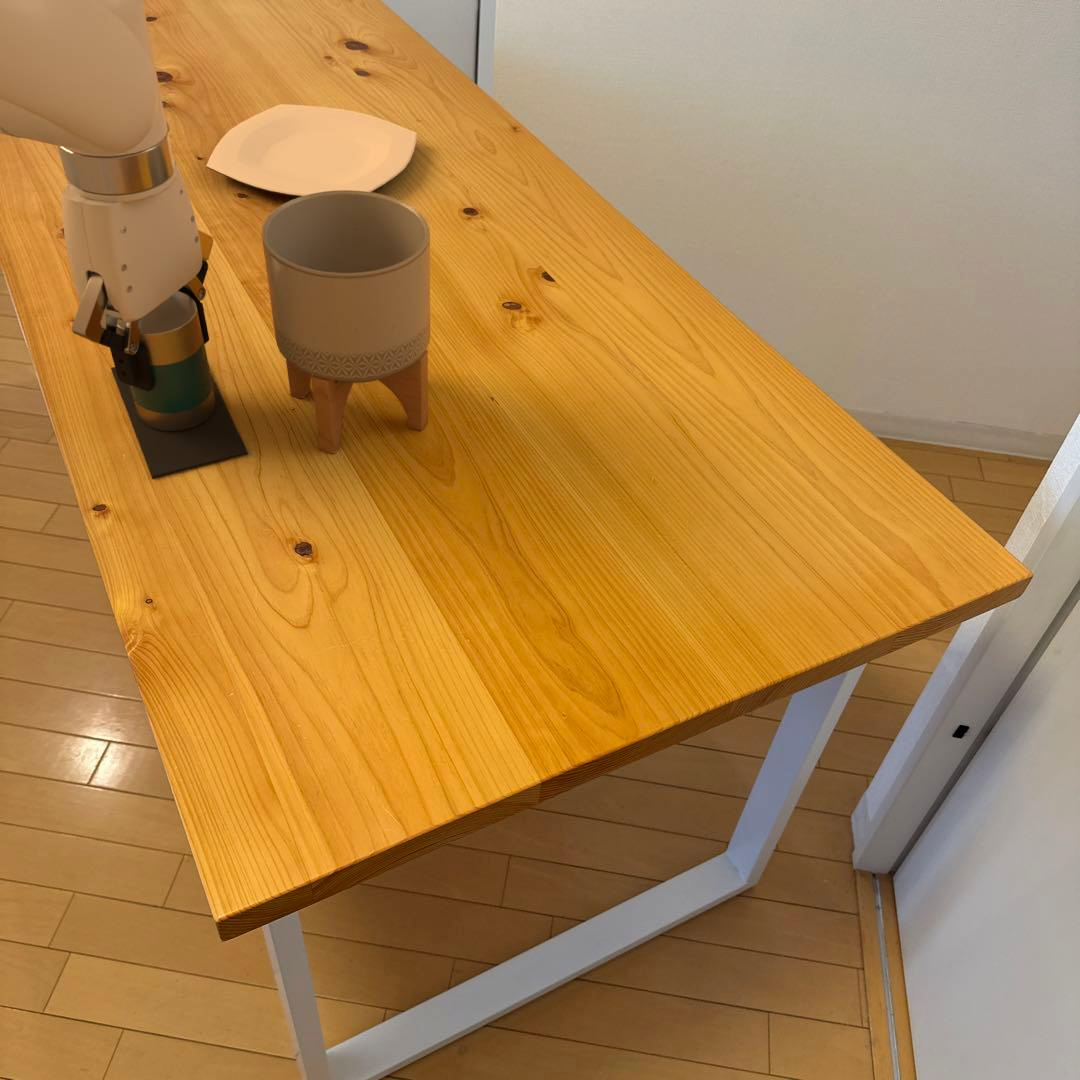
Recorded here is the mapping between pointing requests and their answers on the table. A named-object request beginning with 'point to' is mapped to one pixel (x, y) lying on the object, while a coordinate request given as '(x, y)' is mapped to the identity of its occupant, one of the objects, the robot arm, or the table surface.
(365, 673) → the table surface
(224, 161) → the plate
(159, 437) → the black flat rectangular slab
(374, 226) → the planter
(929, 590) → the table surface
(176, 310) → the can
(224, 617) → the table surface
